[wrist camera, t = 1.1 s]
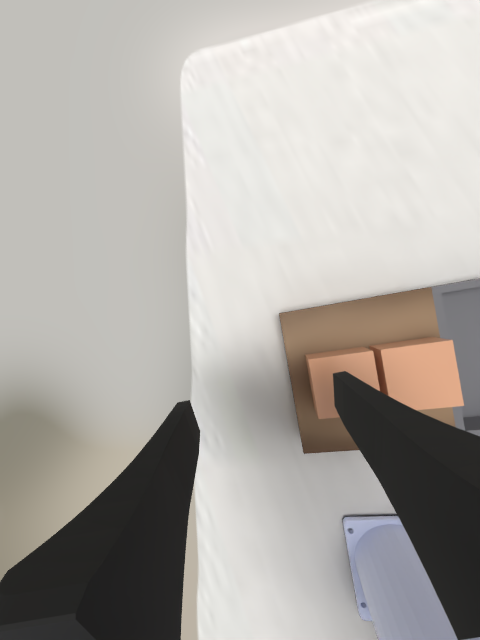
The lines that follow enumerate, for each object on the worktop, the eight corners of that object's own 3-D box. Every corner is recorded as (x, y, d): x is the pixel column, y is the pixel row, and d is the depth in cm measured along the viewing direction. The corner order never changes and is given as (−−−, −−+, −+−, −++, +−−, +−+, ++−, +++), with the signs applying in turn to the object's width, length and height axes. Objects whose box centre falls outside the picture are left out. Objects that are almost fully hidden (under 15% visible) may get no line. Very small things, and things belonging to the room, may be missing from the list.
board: (431, 423, 20) (458, 443, 17) (300, 434, 22) (303, 453, 19) (408, 290, 20) (431, 287, 17) (279, 313, 22) (279, 313, 19)
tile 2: (372, 402, 18) (383, 413, 16) (314, 408, 19) (318, 419, 17) (362, 346, 18) (373, 350, 16) (304, 354, 19) (308, 359, 17)
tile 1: (442, 395, 17) (464, 405, 15) (379, 401, 18) (391, 412, 16) (432, 336, 17) (452, 339, 15) (369, 345, 18) (380, 349, 16)
